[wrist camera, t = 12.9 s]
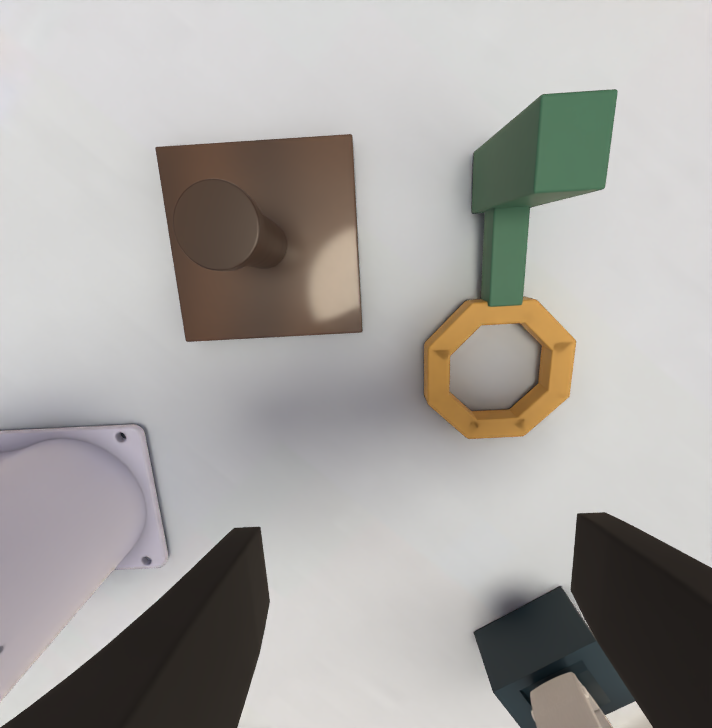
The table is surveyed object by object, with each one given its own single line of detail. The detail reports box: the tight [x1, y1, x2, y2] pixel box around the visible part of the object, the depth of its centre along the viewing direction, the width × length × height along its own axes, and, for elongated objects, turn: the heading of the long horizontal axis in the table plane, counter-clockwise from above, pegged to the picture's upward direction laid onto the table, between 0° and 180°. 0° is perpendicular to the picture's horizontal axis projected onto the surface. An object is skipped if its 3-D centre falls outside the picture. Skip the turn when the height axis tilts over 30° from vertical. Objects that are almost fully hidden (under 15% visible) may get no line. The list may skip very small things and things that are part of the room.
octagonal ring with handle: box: [424, 89, 617, 439], centre depth 14 cm, size 12×6×6 cm, turn 3°
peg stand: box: [156, 134, 362, 342], centre depth 13 cm, size 8×8×6 cm
